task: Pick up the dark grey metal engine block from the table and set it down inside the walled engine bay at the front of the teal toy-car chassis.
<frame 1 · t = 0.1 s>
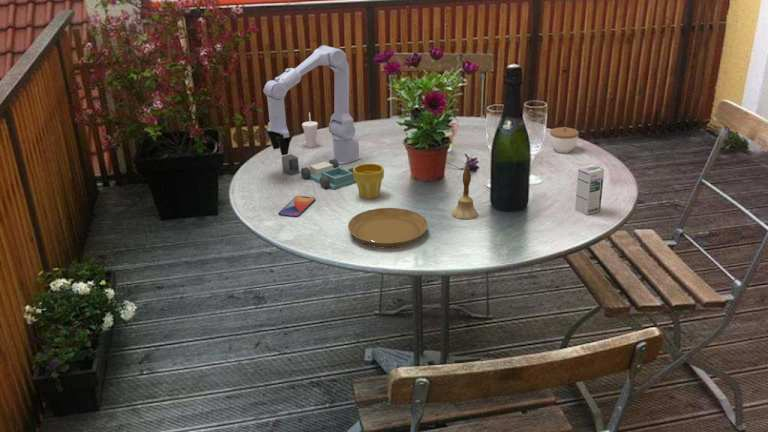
hand: (280, 151, 260), 10 cm above the table, tool pointing down, fingers open, 7 cm apart
hand bell: (465, 214, 231), on the table
engine block: (291, 172, 269), on the table
plant saucer: (388, 234, 220), on the table
smartphone: (297, 208, 239), on the table
lidded jar: (562, 150, 283), on the table
syrup box: (587, 210, 231), on the table
chassis: (329, 178, 262), on the table
plant pot: (369, 195, 247), on the table
smoothie: (311, 146, 295), on the table
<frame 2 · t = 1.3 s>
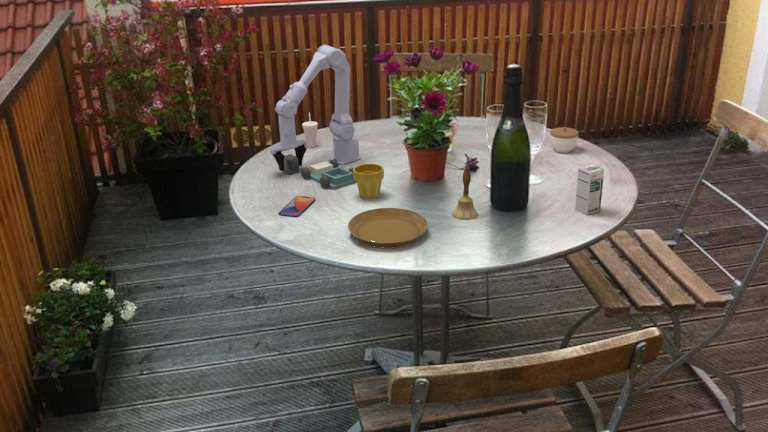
hand: (290, 167, 268), 2 cm above the table, tool pointing down, fingers open, 7 cm apart
nothing on the table moved.
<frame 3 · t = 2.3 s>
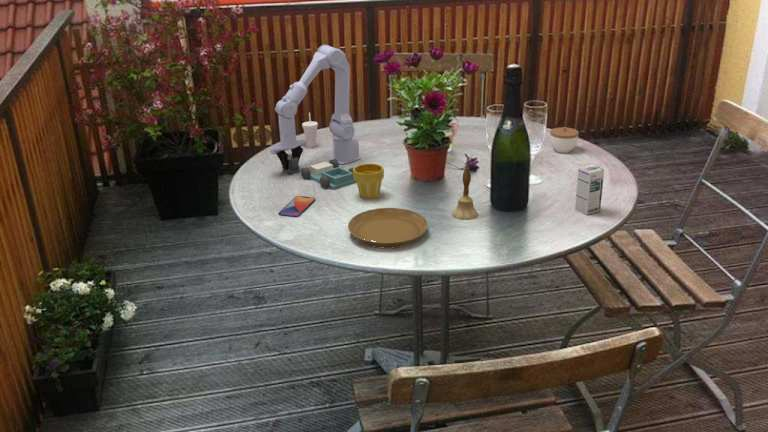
hand: (290, 167, 268), 2 cm above the table, tool pointing down, fingers closed on engine block, 4 cm apart
engine block: (291, 172, 269), on the table, touching gripper
everything else where it was.
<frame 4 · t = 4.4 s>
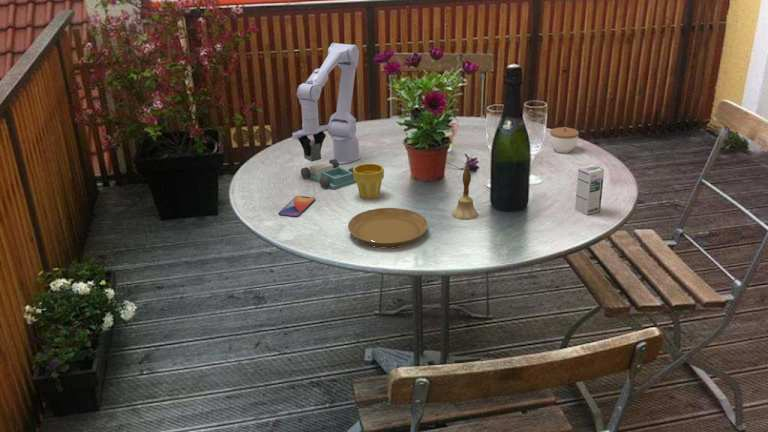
hand: (312, 154, 260), 9 cm above the table, tool pointing down, fingers closed on engine block, 4 cm apart
engine block: (312, 158, 261), point 7 cm above the table, touching gripper
everything else where it was.
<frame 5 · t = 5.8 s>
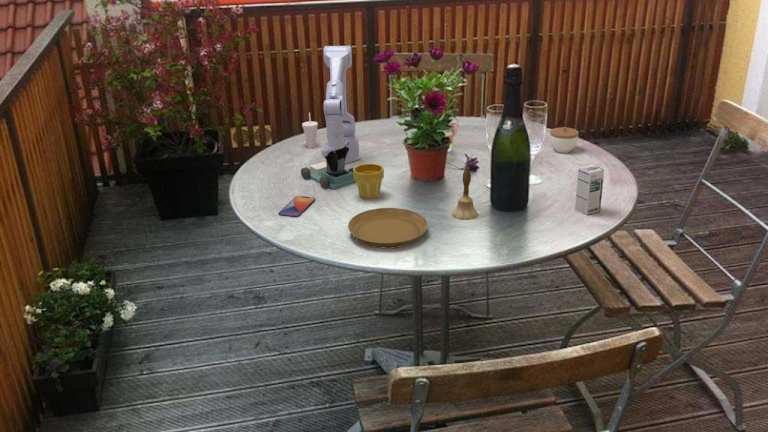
hand: (337, 169, 256), 5 cm above the table, tool pointing down, fingers closed on engine block, 4 cm apart
engine block: (336, 174, 257), point 3 cm above the table, touching gripper
everything else where it was.
when the fingers open (4 cm above the table, at t = 6.7 s): engine block drops 1 cm, resting on chassis.
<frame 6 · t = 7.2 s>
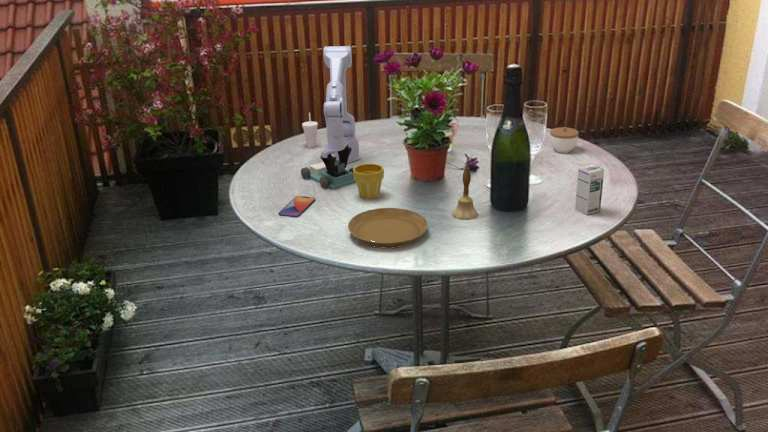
hand: (337, 170, 256), 4 cm above the table, tool pointing down, fingers open, 7 cm apart
engine block: (336, 178, 258), point 1 cm above the table, touching chassis
everything else where it was.
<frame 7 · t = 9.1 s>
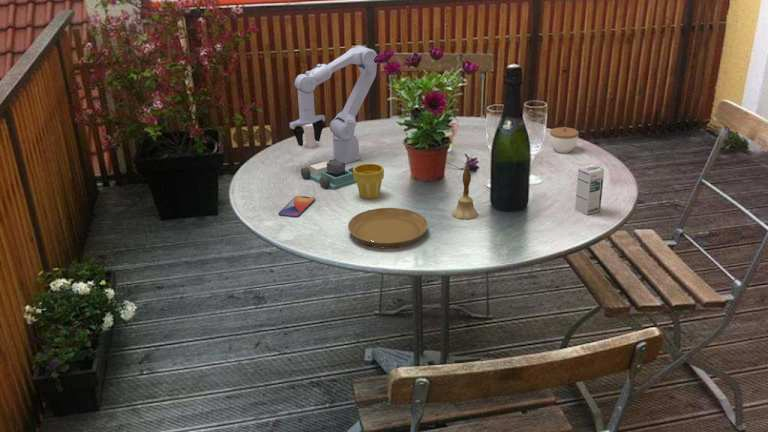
hand: (309, 143, 269), 9 cm above the table, tool pointing down, fingers open, 7 cm apart
nothing on the table moved.
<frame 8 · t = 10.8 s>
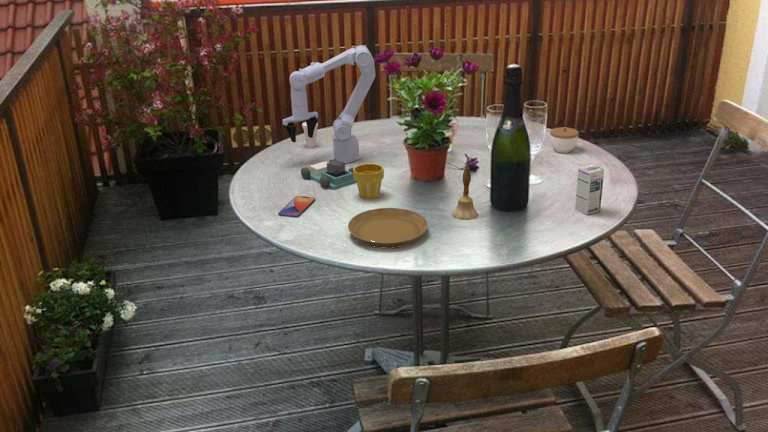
hand: (302, 139, 273), 9 cm above the table, tool pointing down, fingers open, 7 cm apart
nothing on the table moved.
at the end: engine block 0.4 cm from the target spot on the chassis, point 1.2 cm above the chassis's base; engine block tilted 0°; the gripper is holding nothing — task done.
